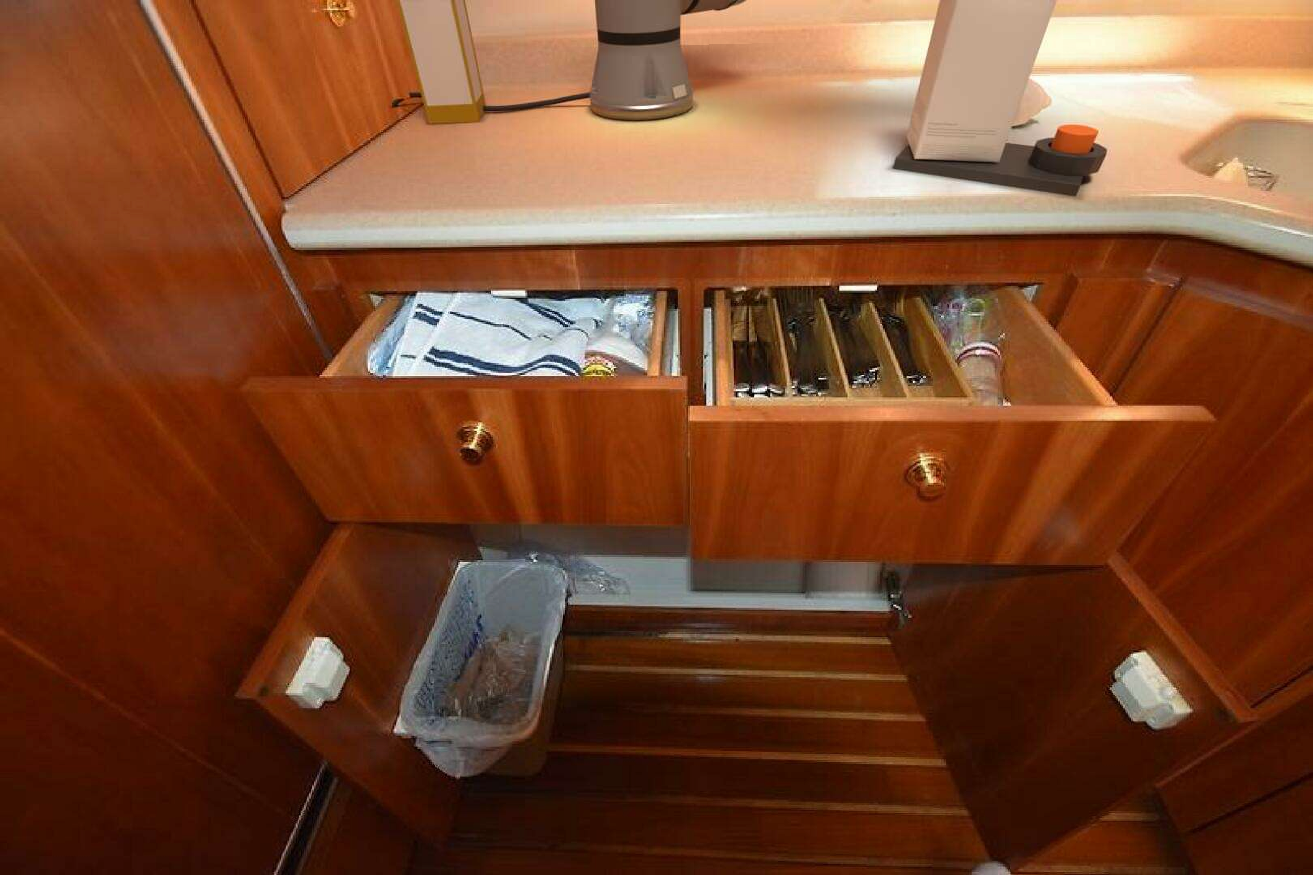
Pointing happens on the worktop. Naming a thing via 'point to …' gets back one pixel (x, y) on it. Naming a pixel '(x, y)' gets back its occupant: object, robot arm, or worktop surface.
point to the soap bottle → (443, 59)
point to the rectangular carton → (975, 77)
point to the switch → (1074, 139)
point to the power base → (1016, 167)
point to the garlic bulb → (1031, 102)
